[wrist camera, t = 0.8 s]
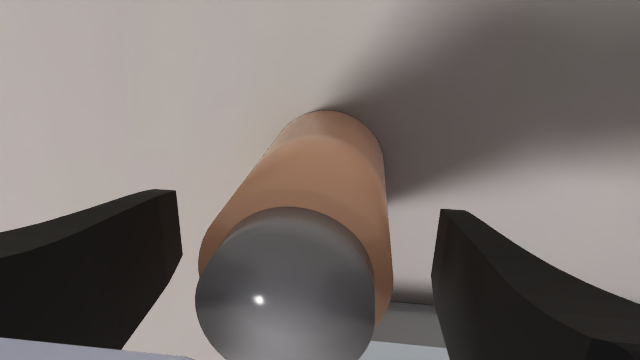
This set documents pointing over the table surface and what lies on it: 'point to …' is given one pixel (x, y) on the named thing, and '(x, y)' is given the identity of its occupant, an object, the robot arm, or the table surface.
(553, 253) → the table surface
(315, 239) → the shaker
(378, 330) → the tray
